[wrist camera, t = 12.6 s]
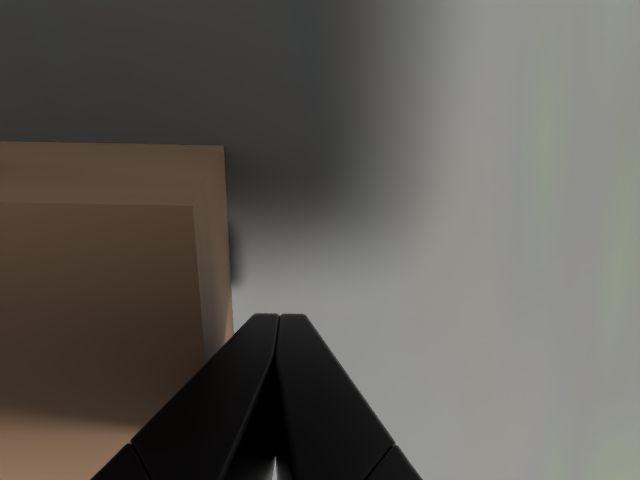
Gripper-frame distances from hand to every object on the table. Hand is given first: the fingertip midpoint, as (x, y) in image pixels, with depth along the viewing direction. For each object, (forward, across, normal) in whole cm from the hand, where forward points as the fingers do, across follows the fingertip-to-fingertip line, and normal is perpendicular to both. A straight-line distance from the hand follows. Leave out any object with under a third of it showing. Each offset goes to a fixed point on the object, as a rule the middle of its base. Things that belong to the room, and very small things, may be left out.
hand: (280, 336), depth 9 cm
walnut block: (+2, +4, 0) cm, 4 cm away
